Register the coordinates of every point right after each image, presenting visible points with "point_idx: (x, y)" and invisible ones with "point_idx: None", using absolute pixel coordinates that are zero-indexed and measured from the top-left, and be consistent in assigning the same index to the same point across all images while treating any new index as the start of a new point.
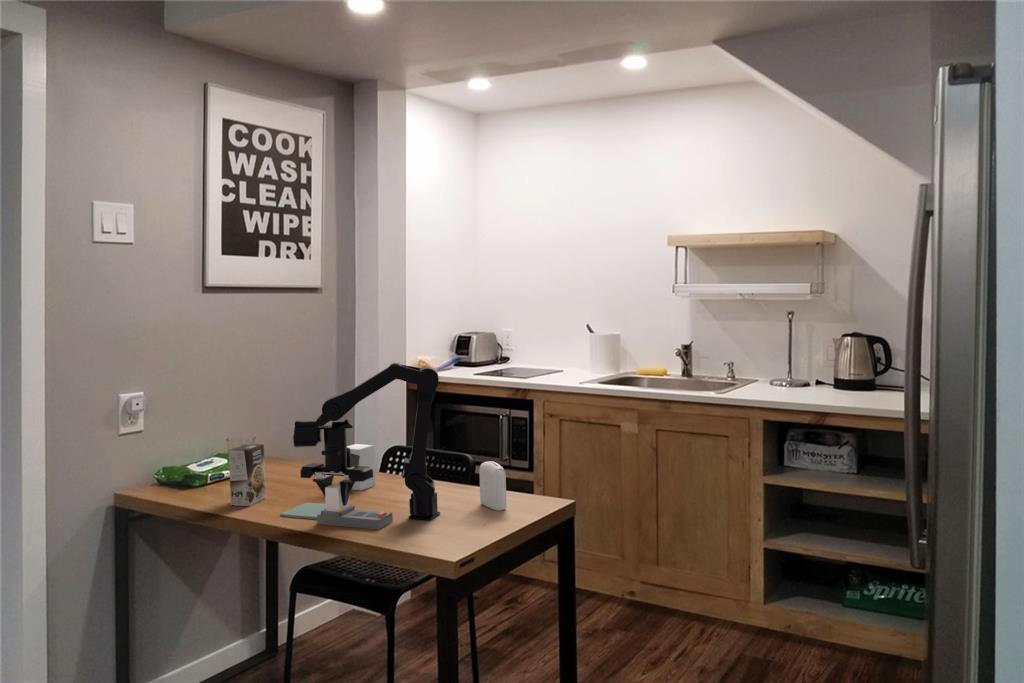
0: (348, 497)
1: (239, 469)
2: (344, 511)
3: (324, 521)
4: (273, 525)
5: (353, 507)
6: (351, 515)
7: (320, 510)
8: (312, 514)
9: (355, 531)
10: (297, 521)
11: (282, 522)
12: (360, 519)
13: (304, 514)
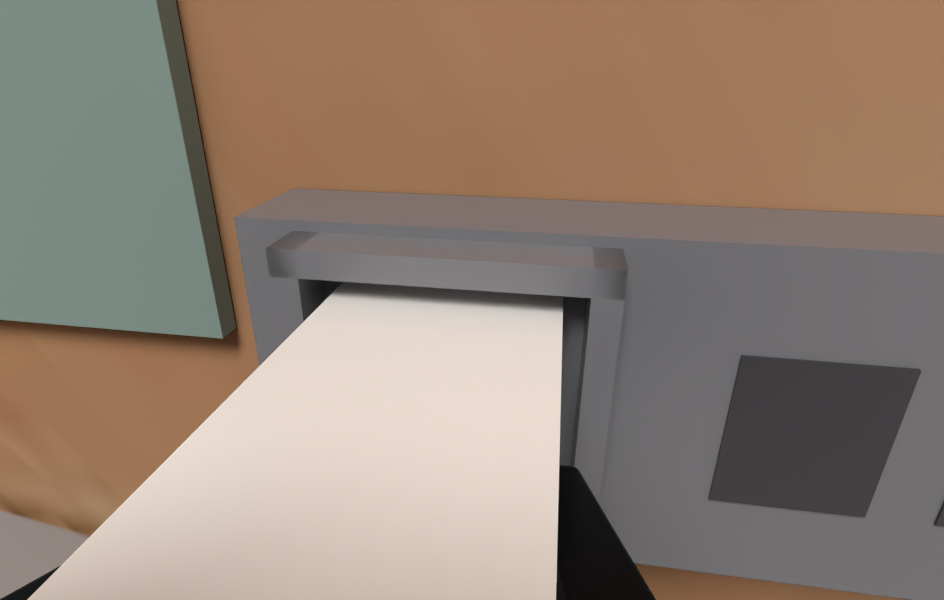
0: (626, 568)
1: None
2: None
3: None
4: (39, 518)
5: (621, 290)
6: (706, 503)
7: (30, 79)
8: (88, 261)
9: (811, 593)
10: (108, 407)
11: (27, 448)
12: (878, 586)
13: (18, 277)
